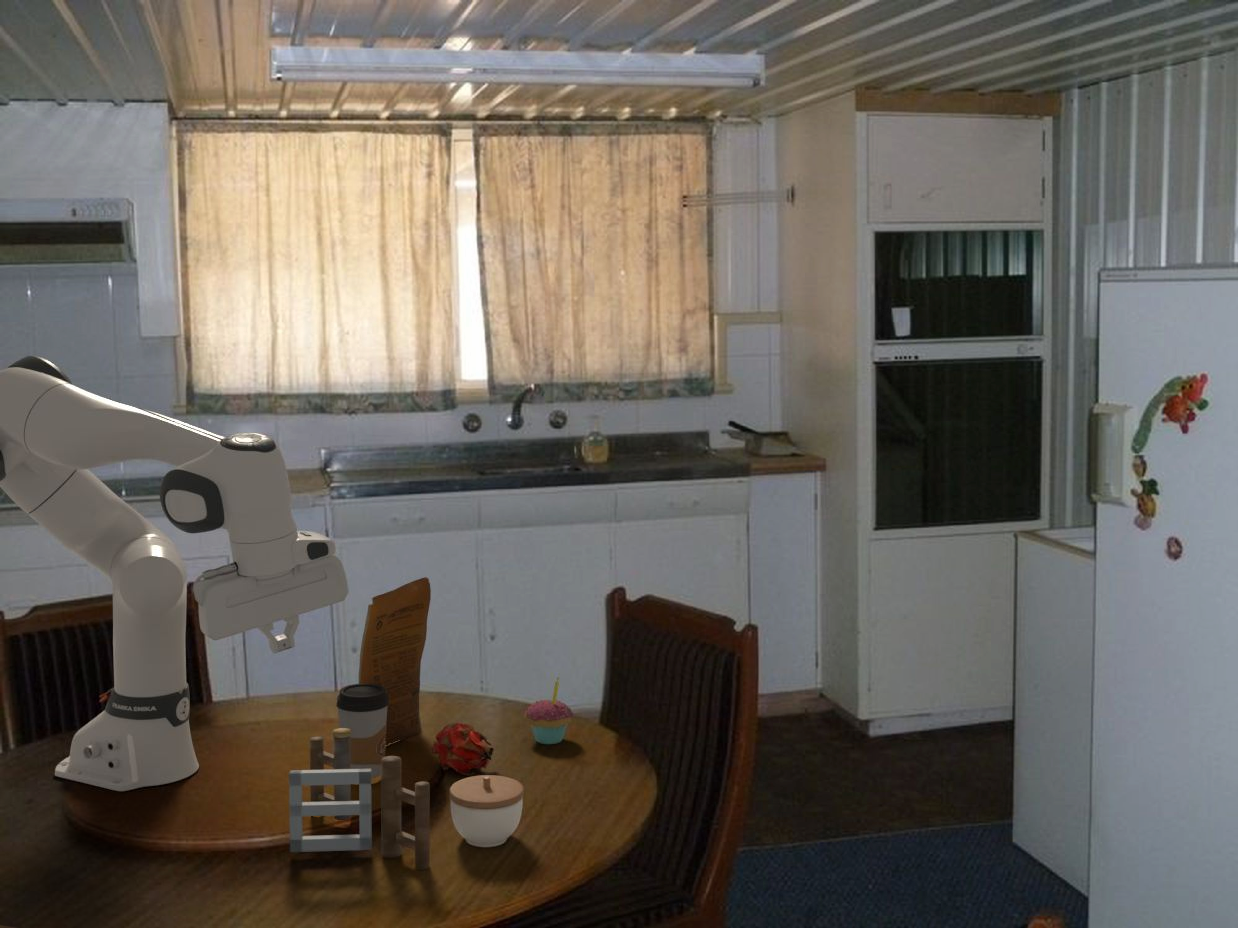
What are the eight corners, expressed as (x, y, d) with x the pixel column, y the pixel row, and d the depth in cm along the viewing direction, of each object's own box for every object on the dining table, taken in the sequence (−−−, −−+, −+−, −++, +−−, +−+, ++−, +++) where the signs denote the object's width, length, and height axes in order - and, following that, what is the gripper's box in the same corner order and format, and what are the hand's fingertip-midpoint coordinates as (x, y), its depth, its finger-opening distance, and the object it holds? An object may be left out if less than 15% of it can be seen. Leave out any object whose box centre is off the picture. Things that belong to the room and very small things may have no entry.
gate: (371, 845, 193) (371, 768, 191) (371, 849, 192) (370, 771, 190) (291, 848, 192) (290, 770, 190) (290, 851, 191) (289, 773, 189)
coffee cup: (377, 791, 216) (377, 699, 214) (328, 786, 218) (327, 695, 215) (396, 772, 224) (396, 684, 222) (349, 767, 226) (348, 680, 224)
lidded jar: (493, 860, 192) (493, 796, 190) (434, 842, 197) (434, 780, 196) (537, 834, 201) (538, 773, 199) (479, 818, 206) (480, 758, 205)
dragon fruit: (438, 767, 231) (487, 795, 224) (411, 750, 225) (460, 778, 217) (464, 723, 233) (514, 749, 226) (437, 705, 227) (487, 731, 220)
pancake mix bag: (443, 728, 246) (443, 577, 242) (371, 758, 230) (370, 597, 226) (414, 721, 250) (414, 572, 246) (341, 750, 233) (340, 591, 230)
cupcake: (581, 738, 242) (582, 672, 241) (554, 751, 235) (555, 684, 234) (542, 728, 247) (543, 664, 245) (514, 741, 240) (514, 675, 238)
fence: (294, 820, 204) (293, 726, 202) (320, 810, 208) (318, 718, 206) (419, 871, 187) (419, 770, 185) (444, 860, 191) (445, 761, 189)
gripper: (199, 580, 173) (217, 679, 177) (345, 538, 185) (359, 633, 188) (182, 569, 178) (200, 666, 182) (325, 529, 190) (340, 621, 193)
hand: (282, 649), depth 185 cm, fingers closed
